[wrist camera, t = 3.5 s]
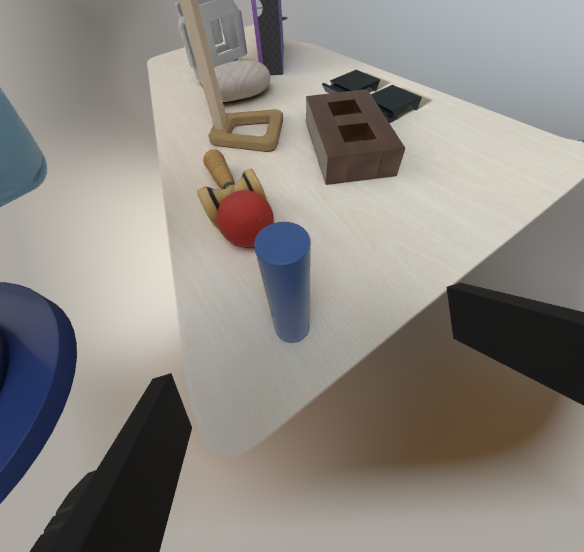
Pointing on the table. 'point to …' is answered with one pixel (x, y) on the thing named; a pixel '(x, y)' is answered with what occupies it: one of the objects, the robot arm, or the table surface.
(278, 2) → the cereal box
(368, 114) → the rack
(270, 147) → the headphone stand
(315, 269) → the table surface
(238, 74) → the decorative stone
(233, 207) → the kendama
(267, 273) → the peg
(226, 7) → the cable organizer
